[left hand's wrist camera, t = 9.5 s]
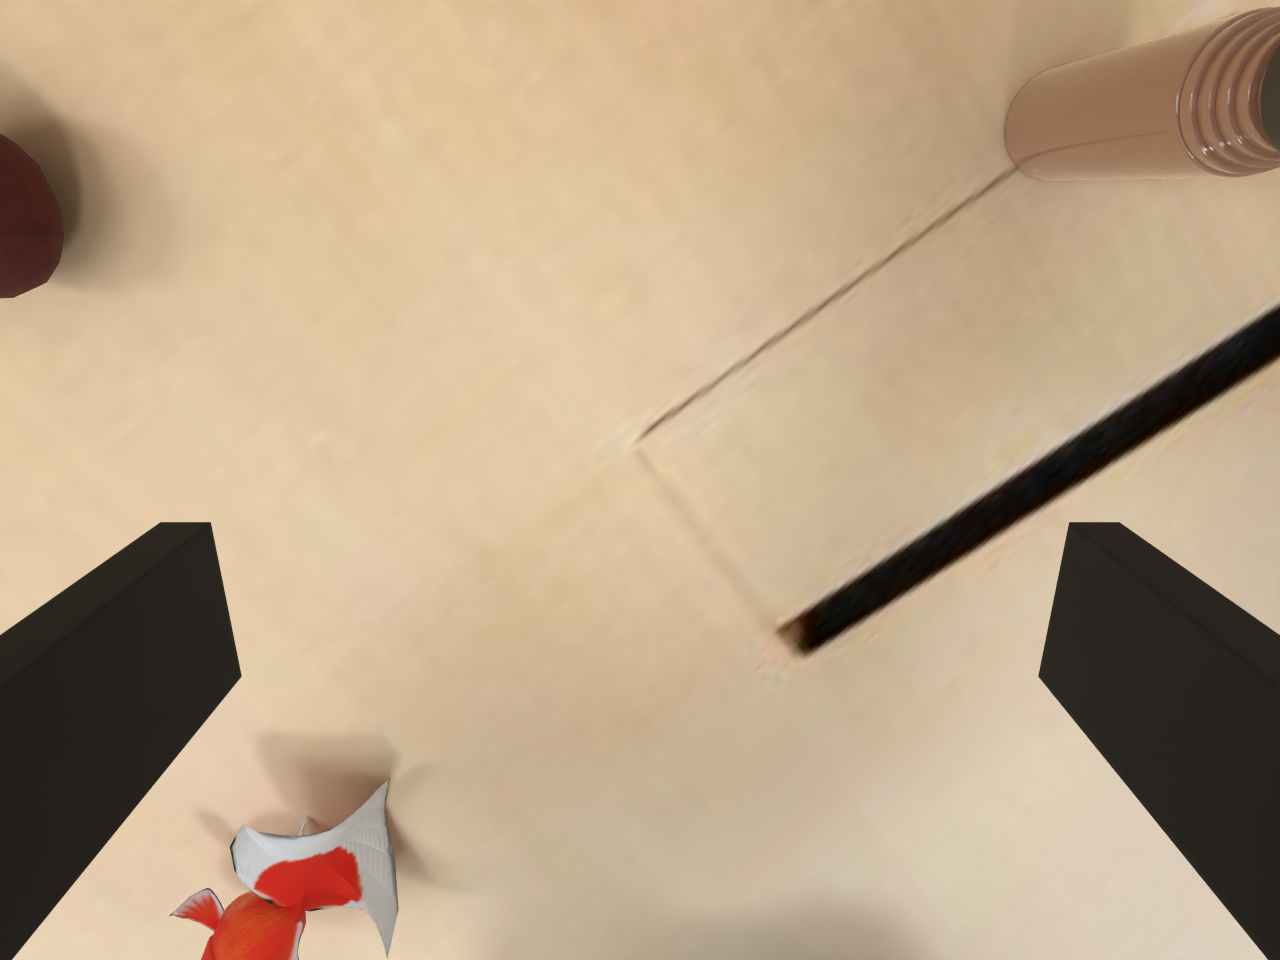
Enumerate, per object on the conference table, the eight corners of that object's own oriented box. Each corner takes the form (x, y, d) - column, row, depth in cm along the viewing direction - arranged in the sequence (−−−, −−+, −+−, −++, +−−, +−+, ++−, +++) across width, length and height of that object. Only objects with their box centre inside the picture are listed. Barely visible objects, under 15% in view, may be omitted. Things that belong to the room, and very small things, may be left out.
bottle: (1057, 42, 35) (1417, -84, 19) (1132, 111, 35) (1536, 48, 19) (981, 138, 36) (1256, 97, 20) (1055, 202, 37) (1375, 213, 21)
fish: (88, 882, 44) (87, 1045, 37) (327, 691, 48) (373, 803, 40) (223, 951, 51) (247, 1103, 43) (426, 778, 54) (481, 890, 47)
